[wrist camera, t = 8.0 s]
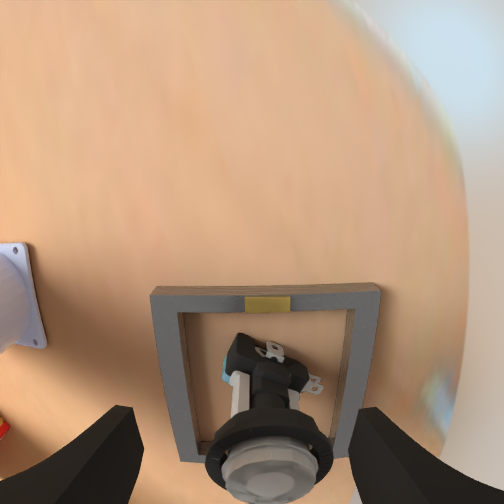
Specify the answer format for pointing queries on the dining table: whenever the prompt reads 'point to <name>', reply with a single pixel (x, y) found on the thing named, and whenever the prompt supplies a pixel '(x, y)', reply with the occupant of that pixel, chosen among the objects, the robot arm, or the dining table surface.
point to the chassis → (263, 301)
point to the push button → (267, 428)
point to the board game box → (3, 427)
